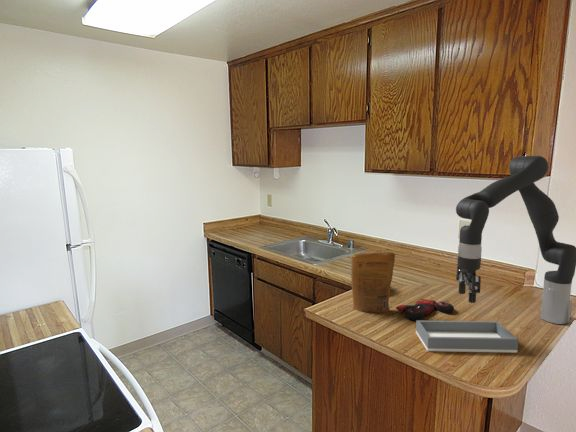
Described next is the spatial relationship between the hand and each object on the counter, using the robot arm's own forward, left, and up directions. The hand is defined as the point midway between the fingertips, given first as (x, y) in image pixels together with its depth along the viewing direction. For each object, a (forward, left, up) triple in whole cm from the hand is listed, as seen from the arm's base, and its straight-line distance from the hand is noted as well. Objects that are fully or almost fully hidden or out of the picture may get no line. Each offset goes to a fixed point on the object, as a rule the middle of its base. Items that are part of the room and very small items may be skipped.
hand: (466, 297), depth 131 cm
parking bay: (0, 0, -17) cm, 17 cm away
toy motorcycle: (+3, -20, -16) cm, 26 cm away
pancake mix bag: (+30, -25, -18) cm, 43 cm away
